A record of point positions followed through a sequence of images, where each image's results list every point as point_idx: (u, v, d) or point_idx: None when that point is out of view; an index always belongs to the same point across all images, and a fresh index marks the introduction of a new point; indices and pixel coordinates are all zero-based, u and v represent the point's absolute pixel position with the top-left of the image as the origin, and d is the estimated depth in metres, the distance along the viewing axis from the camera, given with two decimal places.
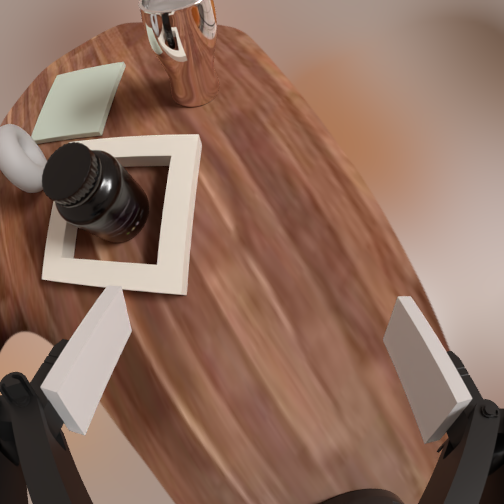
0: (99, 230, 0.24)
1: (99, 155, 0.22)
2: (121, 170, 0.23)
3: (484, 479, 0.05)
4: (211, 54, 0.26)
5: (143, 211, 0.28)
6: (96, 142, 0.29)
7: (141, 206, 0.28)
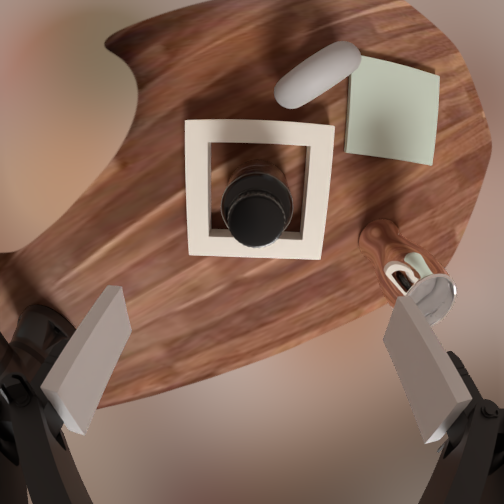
0: None
1: None
2: None
3: (484, 479, 0.05)
4: None
5: None
6: (328, 162, 0.32)
7: None
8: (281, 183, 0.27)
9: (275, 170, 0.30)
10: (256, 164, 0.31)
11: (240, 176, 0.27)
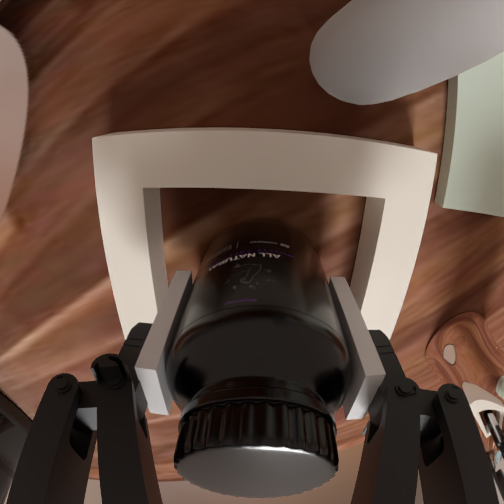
0: None
1: None
2: None
3: (416, 461, 0.06)
4: None
5: None
6: (416, 233, 0.14)
7: None
8: (331, 341, 0.09)
9: (306, 266, 0.12)
10: (258, 248, 0.13)
11: (210, 319, 0.09)
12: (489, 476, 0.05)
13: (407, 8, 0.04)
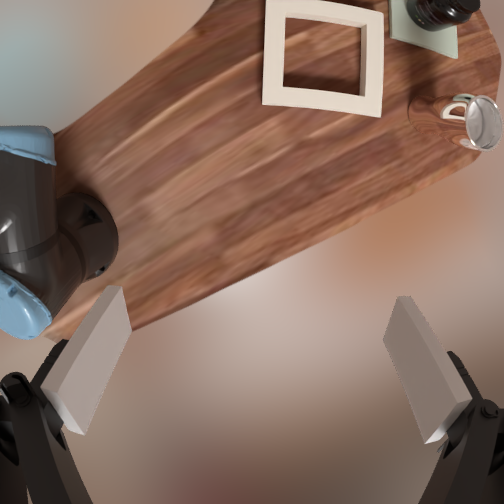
0: (424, 1, 0.24)
1: None
2: (461, 23, 0.23)
3: (484, 479, 0.05)
4: (441, 136, 0.32)
5: (429, 28, 0.28)
6: (381, 37, 0.30)
7: (433, 28, 0.28)
8: None
9: None
10: None
11: None
12: None
13: None
